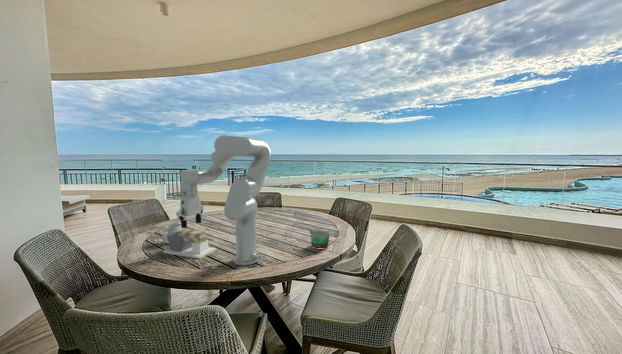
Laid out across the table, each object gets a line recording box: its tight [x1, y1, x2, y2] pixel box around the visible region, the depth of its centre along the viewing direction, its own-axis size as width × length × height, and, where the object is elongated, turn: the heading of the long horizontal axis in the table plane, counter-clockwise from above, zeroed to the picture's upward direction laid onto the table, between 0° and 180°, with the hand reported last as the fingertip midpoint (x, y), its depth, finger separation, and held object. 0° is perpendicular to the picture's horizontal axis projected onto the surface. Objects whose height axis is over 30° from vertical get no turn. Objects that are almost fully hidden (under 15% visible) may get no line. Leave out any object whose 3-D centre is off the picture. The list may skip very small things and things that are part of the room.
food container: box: [308, 228, 331, 249], centre depth 130 cm, size 12×6×10 cm, turn 76°
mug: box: [161, 223, 183, 245], centre depth 137 cm, size 13×9×10 cm
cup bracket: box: [162, 233, 217, 260], centre depth 125 cm, size 24×12×9 cm, turn 72°
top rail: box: [176, 228, 207, 244], centre depth 125 cm, size 16×4×5 cm, turn 72°
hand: (191, 225), depth 124 cm, fingers open, 9 cm apart
